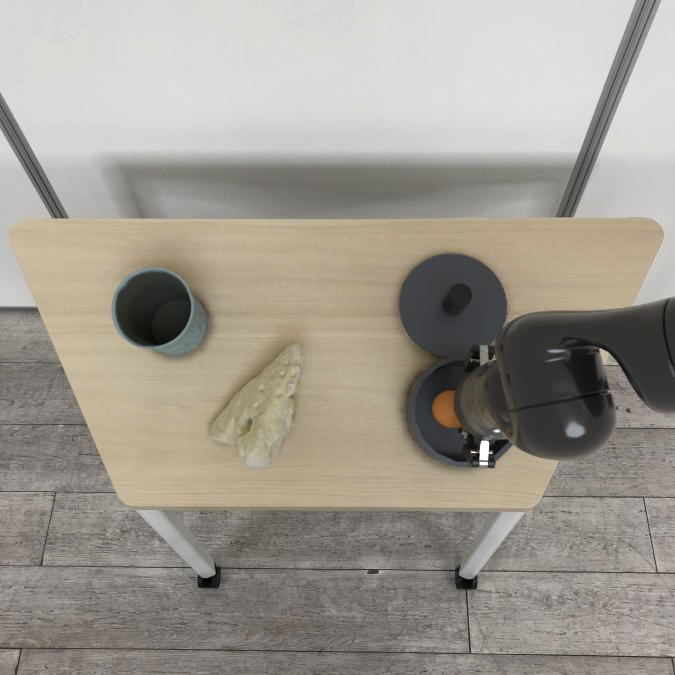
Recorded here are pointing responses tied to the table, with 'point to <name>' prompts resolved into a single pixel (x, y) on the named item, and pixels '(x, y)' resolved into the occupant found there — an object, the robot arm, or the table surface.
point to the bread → (445, 410)
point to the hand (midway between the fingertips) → (466, 410)
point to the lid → (452, 305)
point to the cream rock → (262, 410)
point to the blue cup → (158, 312)
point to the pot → (426, 428)
